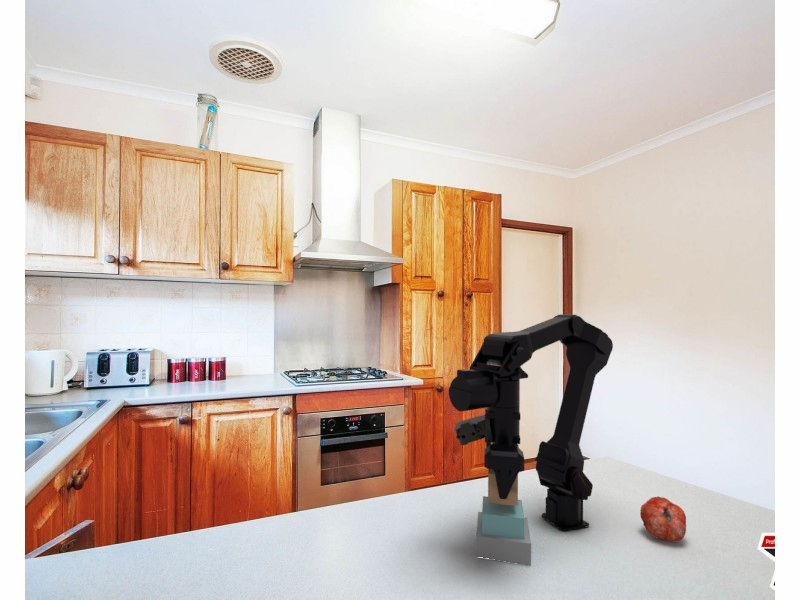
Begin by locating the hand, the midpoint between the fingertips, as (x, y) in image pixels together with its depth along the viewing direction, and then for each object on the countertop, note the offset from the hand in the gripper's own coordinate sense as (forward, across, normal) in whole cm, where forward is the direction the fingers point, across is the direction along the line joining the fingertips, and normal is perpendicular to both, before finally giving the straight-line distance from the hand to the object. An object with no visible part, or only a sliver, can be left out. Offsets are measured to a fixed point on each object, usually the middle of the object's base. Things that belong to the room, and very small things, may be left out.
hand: (502, 492), depth 75 cm
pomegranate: (+10, -11, +30) cm, 33 cm away
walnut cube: (+1, 0, 0) cm, 1 cm away
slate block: (+10, 0, 0) cm, 10 cm away
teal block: (+6, 0, 0) cm, 6 cm away
